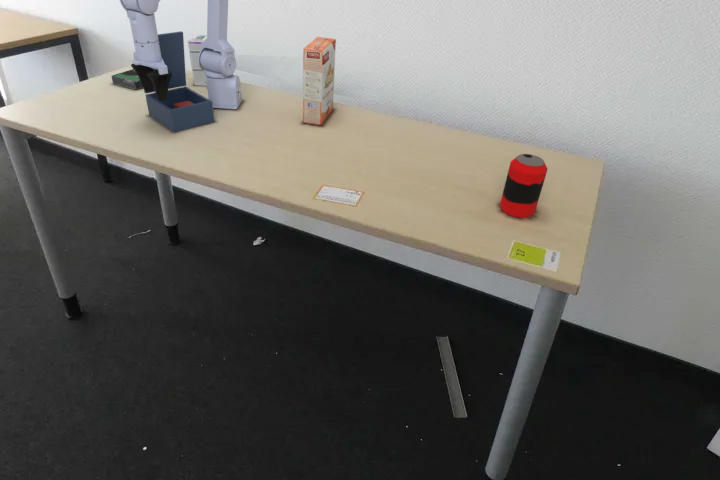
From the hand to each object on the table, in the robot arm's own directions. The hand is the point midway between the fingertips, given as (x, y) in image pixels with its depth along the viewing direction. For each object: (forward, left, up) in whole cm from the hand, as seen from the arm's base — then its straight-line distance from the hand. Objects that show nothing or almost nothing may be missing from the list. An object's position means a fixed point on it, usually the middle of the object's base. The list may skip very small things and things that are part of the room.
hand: (155, 95), depth 132 cm
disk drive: (+19, -37, -9) cm, 42 cm away
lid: (+1, -12, +5) cm, 13 cm away
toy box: (-3, -8, -9) cm, 12 cm away
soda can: (-89, +31, -9) cm, 95 cm away
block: (-5, -5, -8) cm, 11 cm away
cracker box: (-41, -16, -9) cm, 45 cm away
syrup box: (-1, -39, -9) cm, 40 cm away
